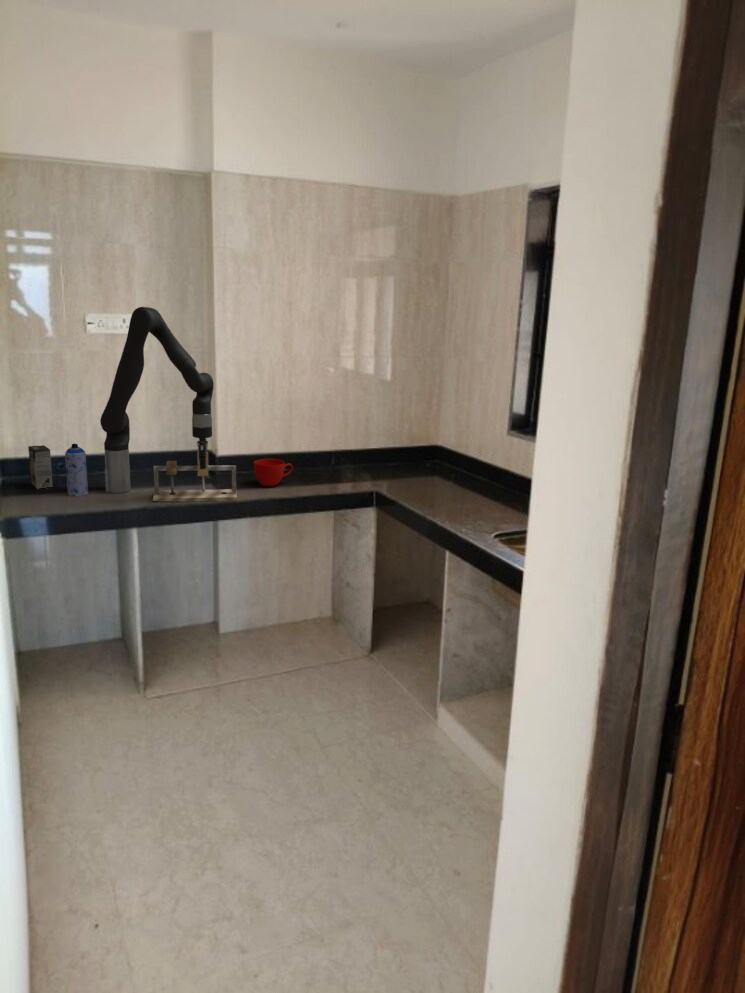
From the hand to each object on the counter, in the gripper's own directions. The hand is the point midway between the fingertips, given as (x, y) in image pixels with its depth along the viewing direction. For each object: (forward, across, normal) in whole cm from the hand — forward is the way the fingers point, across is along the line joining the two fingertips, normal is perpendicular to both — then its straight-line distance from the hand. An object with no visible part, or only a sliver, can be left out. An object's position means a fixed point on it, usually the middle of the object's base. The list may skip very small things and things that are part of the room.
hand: (203, 467), depth 296 cm
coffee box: (+13, -20, -65) cm, 69 cm away
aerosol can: (+13, -8, -49) cm, 51 cm away
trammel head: (+10, 0, 0) cm, 10 cm away
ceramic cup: (+13, -19, +29) cm, 37 cm away
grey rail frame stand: (+12, 0, -3) cm, 13 cm away
